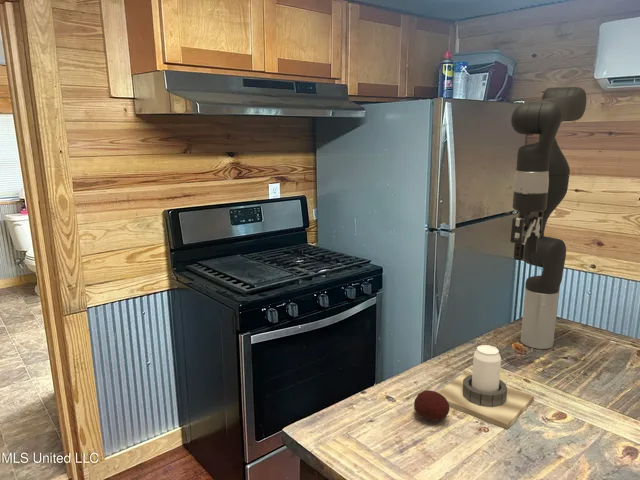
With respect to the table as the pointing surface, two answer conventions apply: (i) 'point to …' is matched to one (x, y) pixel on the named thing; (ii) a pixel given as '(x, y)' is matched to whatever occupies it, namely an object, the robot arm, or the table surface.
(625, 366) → the table surface
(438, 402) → the potato
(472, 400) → the ring board
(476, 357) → the beverage can
